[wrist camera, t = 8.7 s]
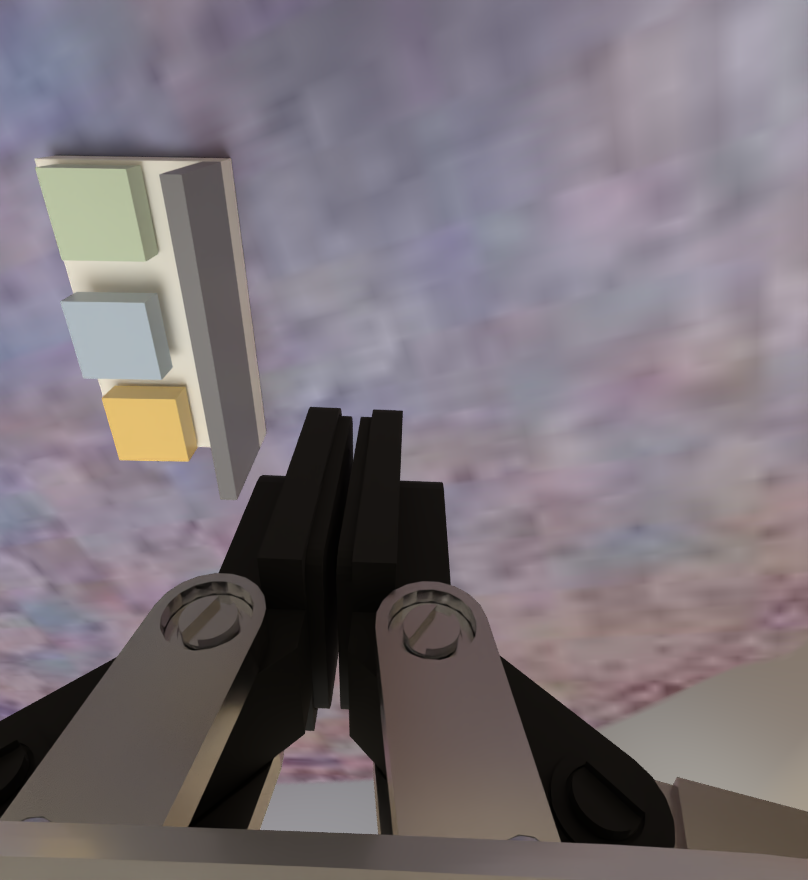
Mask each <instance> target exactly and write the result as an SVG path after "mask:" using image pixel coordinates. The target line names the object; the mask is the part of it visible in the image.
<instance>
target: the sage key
mask: <svg viewBox="0 0 808 880" xmlns="http://www.w3.org/2000/svg"><path fill="white" fill-rule="evenodd" d="M35 169H36V172H37V176H38V179H39V183H40V186H41V190H42V193H43V197H44V200H45V203H46V207H47V210H48V214H49V217H50V221H51V224H52V228H53V231H54V235H55V238H56V241H57V245H58V248H59V252H60V255H61V259H62V260H73V261H132V262H146V261H148V260H149V259H151V258H153V257H154V256H156V255H158V249H157V244H156V239H155V234H154V229H153V224H152V220H151V215H150V210H149V205H148V200H147V195H146V190H145V185H144V180H143V175H142V170H141V165H88V164H51V165H46V166H40V167H35Z"/></svg>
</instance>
